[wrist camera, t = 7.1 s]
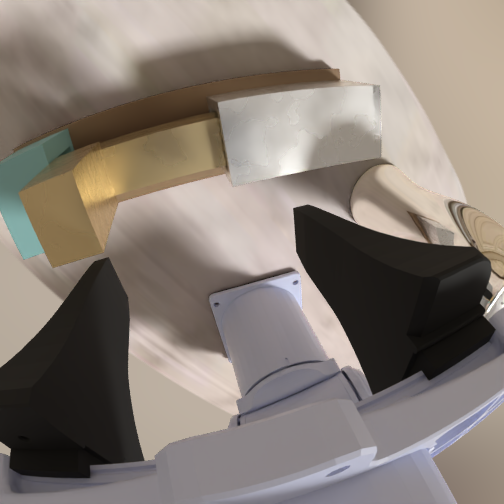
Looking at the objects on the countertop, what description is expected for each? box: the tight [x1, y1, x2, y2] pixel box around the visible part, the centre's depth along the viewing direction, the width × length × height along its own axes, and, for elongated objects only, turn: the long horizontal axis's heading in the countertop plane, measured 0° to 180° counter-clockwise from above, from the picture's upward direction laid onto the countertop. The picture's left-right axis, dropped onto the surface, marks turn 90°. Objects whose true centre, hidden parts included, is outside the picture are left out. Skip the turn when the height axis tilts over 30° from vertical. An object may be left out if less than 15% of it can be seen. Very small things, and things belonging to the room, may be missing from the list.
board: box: [13, 69, 340, 203], centre depth 18 cm, size 6×22×1 cm, turn 98°
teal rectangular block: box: [0, 128, 74, 260], centre depth 15 cm, size 6×4×4 cm
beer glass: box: [350, 164, 504, 320], centre depth 19 cm, size 7×7×15 cm
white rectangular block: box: [206, 80, 381, 187], centre depth 17 cm, size 4×9×4 cm, turn 98°
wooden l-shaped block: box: [18, 111, 227, 268], centre depth 14 cm, size 4×13×8 cm, turn 98°
